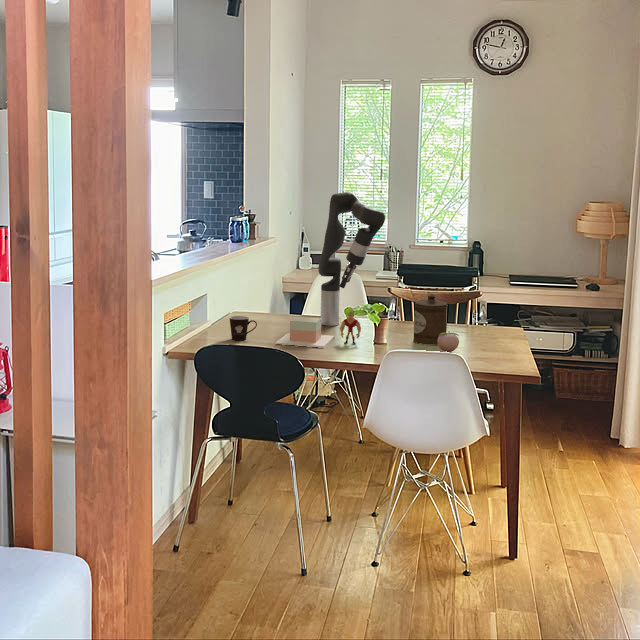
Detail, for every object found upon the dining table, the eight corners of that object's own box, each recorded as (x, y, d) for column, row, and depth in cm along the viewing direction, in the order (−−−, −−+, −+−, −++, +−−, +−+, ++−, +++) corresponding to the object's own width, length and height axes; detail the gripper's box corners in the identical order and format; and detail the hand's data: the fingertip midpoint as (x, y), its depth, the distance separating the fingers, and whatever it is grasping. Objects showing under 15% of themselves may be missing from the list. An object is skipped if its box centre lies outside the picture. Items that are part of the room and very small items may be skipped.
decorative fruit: (444, 356, 342) (445, 333, 340) (433, 352, 350) (435, 329, 348) (462, 354, 346) (464, 331, 344) (452, 350, 353) (453, 328, 352)
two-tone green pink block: (288, 334, 377) (288, 313, 375) (334, 338, 373) (335, 316, 371) (275, 344, 356) (275, 322, 354) (324, 348, 352) (324, 325, 350)
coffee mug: (226, 340, 363) (226, 318, 361) (234, 336, 371) (234, 315, 369) (249, 342, 359) (249, 320, 357) (257, 339, 367) (257, 317, 365)
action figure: (338, 343, 361) (339, 310, 358) (339, 342, 364) (340, 309, 362) (360, 345, 360) (361, 311, 357) (360, 343, 363) (361, 310, 360)
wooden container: (410, 338, 377) (412, 291, 372) (441, 338, 378) (444, 291, 374) (416, 345, 362) (419, 296, 358) (449, 345, 364) (452, 297, 359)
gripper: (353, 244, 353) (340, 276, 360) (346, 252, 340) (332, 285, 347) (369, 251, 352) (355, 283, 359) (362, 260, 339) (348, 293, 346)
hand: (344, 284), depth 353 cm, fingers open, 8 cm apart
